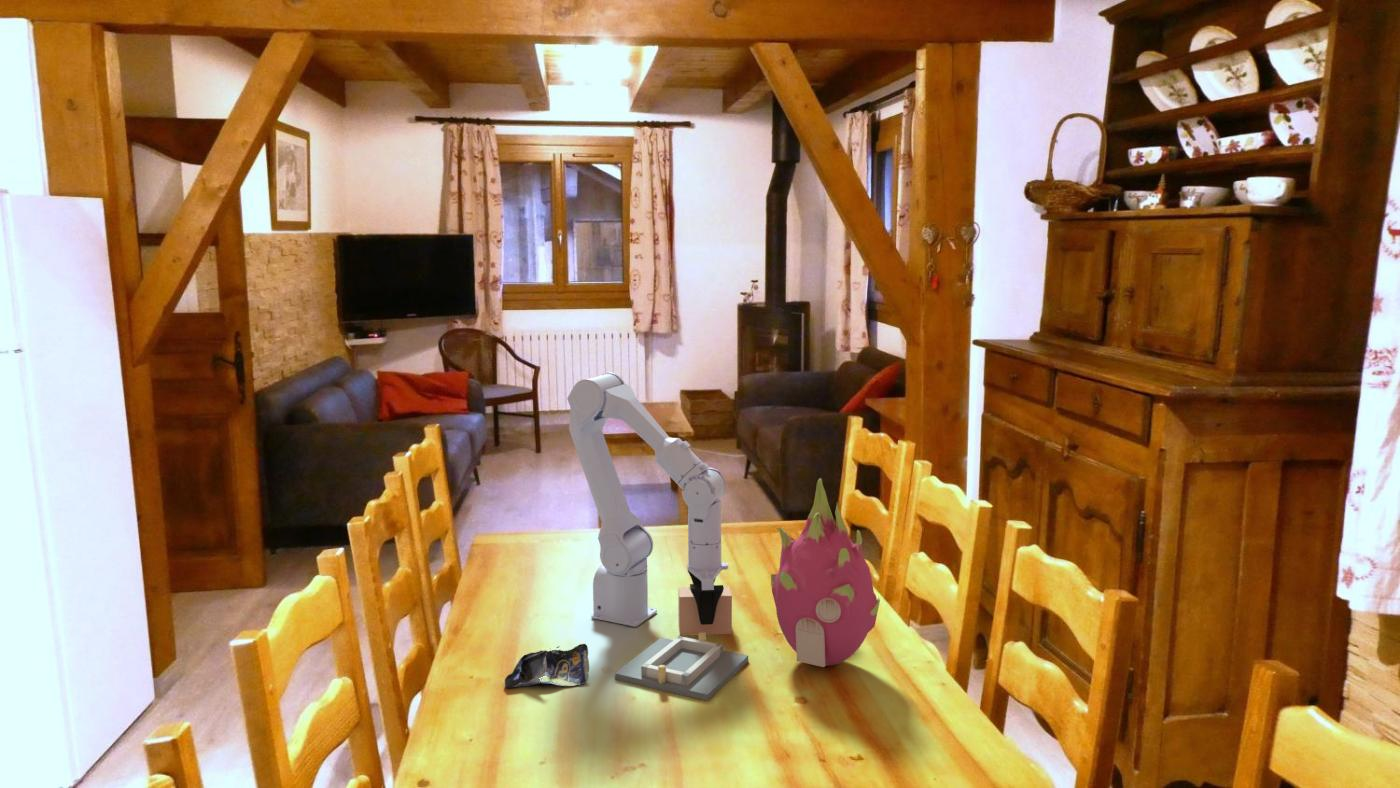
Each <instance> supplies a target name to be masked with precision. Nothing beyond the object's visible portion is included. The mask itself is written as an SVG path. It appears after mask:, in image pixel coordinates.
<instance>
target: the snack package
mask: <svg viewBox="0 0 1400 788" xmlns="http://www.w3.org/2000/svg"><path fill="white" fill-rule="evenodd" d="M558 648H560V646H559V645H558V646H556V649H553V650H552V649H551V650H548V651H547V650H539V651H535V652H529V653H527V654H524V655H523V656H522V657H520V659H519V660H518V662H517V663H516V665H515V667H514V669H513V671H512V672H511V673H510V674H508V675H506V677H505V678H504V686H505V688H506V689H512V688H516V687H517V688H518V687H527V686H528V687H529V686H534V685H539V684H546V685H555V686H563V687H568V684H561V683H557V682H553V681H552V680H545V681H542V680H541V681H542V682H541V681H540V679H539V678H541V677H543V676H547V677H551V678H550V679H556V678H557V680H560V681H561V680H562V681H564V682H565V681H566V682H568V683H571V684H576V685H577V686H580V685H585V684H586V683H587V681H588V680H589V674H590V663H589V662H590V661H589V647H588V645H587V644H586V643H580V644H578V645H576V646H575V647H573V648H571V649H568V650H561V649H558ZM553 677H554V678H553ZM541 679H542V678H541Z"/></svg>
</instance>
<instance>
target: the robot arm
mask: <svg viewBox="0 0 1400 788" xmlns="http://www.w3.org/2000/svg"><path fill="white" fill-rule="evenodd" d="M566 398H567V402H568V404H569V407H570V409H569V410H570V411H569V423H568V425H569V426H568V429H569V434H570V436H571V439H572V442H573V444H574V449H575V450H576V454H577V456H578V459H579V461H580V462H579V463H580V465H581V467H582V470H583V472H584V473H583V474H584V475H585V478H586V481H587V485H588V487H589V490H590V493H591V496H592V499H593V501H594V505H595V507H596V509H597V512H598V516H599V518H600V521H601V526H600V529H599V532H598V535H597V539H598V542H599V547H600V550H599V551H600V552H599V558H600V562H601V566H599V567H598V568H597V570H596V571H595V573H594V577H593V582H592V600H593V605H592V606H593V607H592V608H593V614H591V616H590V617H591V618H592V619H595V620H601V621H604V622H610V623H615V624H619V625H624V626H630V627H638V626H639V625H641V624H643V623H644V622H645V621H646V620H648V619H650V617H652V616H654V615H655V614H656V613H657V612H658V609H657V608H652V607H649V605H648V604H649V602H648V601H649V599H648V597H649V595H648V593H649V591H648V589H649V588H648V586H649V585H648V557H650V556H651V555H652V552H653V549H654V541H653V538H652V535H651V534H650V533H649V531H648V530H647V529H646V528H645V527H644V525H643V523H642V520H641V518H640V517H638V516H637V515H636V514H634V513H633V512H632V511H631V509H630V507H629V503H628V501H627V498H626V495H625V492H624V490H623V487H622V484H621V480H620V477H619V475H618V472H617V469H616V466H615V465H614V464H615V463H614V461H613V459H612V456H611V453H610V450H609V446H608V444H607V441H606V439H605V436H604V433H603V429H604V426H605V424H606V423H607V421H608V419H616V420H622V421H623V422H624V423H625V424H626V425H627V426H628V427H630V429H632V430H633V431H634V432H635V433H636V434H637V435H638V436H639V437H640V438H641V439H642V440H643V441H644V442H645V443H646V444H647V445H648V446H649V447H650V448H652V450H654V459H655V462H656V464H658V465H659V467H661V469H662V470H664V472H665V473H666V474H667V475H668V476H669V477H670V478H671V479H672V480H673V482H675V484H676V485H678V487H679V488H680V489H681V496H682V499H683V501H684V503H685V504H686V506H687V513H688V514H687V533H688V534H687V538H688V541H687V543H688V544H687V545H688V547H687V548H688V549H687V550H688V552H687V553H688V555H687V556H688V557H687V559H688V562H687V567H686V568H687V573H688V574H689V577H690V579H691V580H692V583H689V587H690V590H691V592H692V594H693V596H694V598H695V600H696V604H697V608H698V614H699V620H700V623H701V625H708V624H713V622H714V618H715V612H716V607H717V603H718V601H719V598H720V596H721V594H722V593H723V590H724V584H717V585H715V581H716V579H717V577H718V576H719V575H720V573H721V572H722V571H723V570H725V571H726V570H729V563H728V562H727V561H722V497H723V496H724V495H725V493H726V490H727V481H726V480H725V477H724V476H723V475H722V473H721V471H720V470H719V469H716V468H715V467H709V465H708V464H707V463H706V462H703V461H702V460H701V459H700V458H699V457H698V456H697V455H696V453H694V452H693V450H692V449H690V447H691V444H690V443H689V442H688V441H687V440H684V441H683V440H682V439H681V438H680V437H671V436H669V435H668V434H667V433H666V432H665V430H664V429H663V428H662V427H661V425H660V424H659V423H658V422H657V420H656V419H655V418H654V417H653V415H652V414H651V413H650V412H649V411H648V410H647V409H646V407H645V406H644V405H643V404H642V403H641V402H640V400H639V399H638V398H637V396H636V395H635V393H634V391H633V388H632V387H631V386H630V385H629V384H627V383H625V380H624V379H623V378H622V377H621V376H620V375H618V374H617V373H614V372H605V373H602V374H601V375H598V376H595V377H594V376H593V377H591V378H584V379H581V380H578V381H577V382H576V383H575V384H574V385H573V387H572V389H571V390H570V393H569V395H568V396H567V397H566Z"/></svg>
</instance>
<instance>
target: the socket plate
mask: <svg viewBox="0 0 1400 788" xmlns="http://www.w3.org/2000/svg"><path fill="white" fill-rule="evenodd" d="M723 648H724V646H723V644H719V643H715V642H711V641H710V642H709V641H707V635H706V633H705V632H699V635H698V639H695V638H690V637H685V636H682V635H678V636H677V637H675V639H669V638H667V637H660V638H659V639H657V640H656V641H655V642H653V643H652V644H651V645H650V646H648V647H647V648H646V649H644V650H643V651H641V653H640V654H638V655H636V657H634V658H633V659H631V661H629V662H628V663H626V664H624V666H622V667H621V668H620V669H619V670H617V671H616V672H615V673H614V680H617V681H621V682H625V683H630V684H632V685H633V684H634V685H637V686H642V687H646V688H649V689H650V688H651V689H655V690H658V691H659V690H660V691H664V692H667V693H672V694H676V695H680V696H685V697H690V698H694V699H697V700H702V701H706V702H708V701H709V700H710V699H711V698H712V697H714V696H715V695H716V693H717V692H719V691H720V690H721V689H722V688H723V686H724V685H726V684H727V683H728V682H729V681H730V680H731V679H732V678H733V677H734V676H735V675H736V674H737V673H738V672H739V671H740V670H741V669H742V668H743V667H744V666H745V665H746V664H747V663H748V662H749V655H748V654H742V653H737V652H732V651H730V650H724V649H723Z"/></svg>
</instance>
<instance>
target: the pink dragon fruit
mask: <svg viewBox="0 0 1400 788" xmlns="http://www.w3.org/2000/svg"><path fill="white" fill-rule="evenodd" d="M815 487H816V489H815V494H814V500H813V505H812V508H811V509H810V513H809V514H808V516H807V519H806V522H805V526H804V527H803V529H802V532H801V533H800V535H799V537H798V538H797V539H794V538H793V537H792V536H791V535H790V534H788V532H787V531H786V530H784V529H783V528H782V527H781V526H780V527H777V528H776V529H777V530H778V531H779V534H780V539H781V550H780V558H779V568H778V572H777V573H770V586H771V593H772V596H773V600H774V605H775V612H776V617H777V621H778V624H779V627H780V630H781V632H782V634H783V636H784V638H785V640H786V642H787V643H788V645H789V646H790V647H791V648H792V650H793V651H794V652H795V653H796V661H797V662H800V663H805V664H807V665H812V666H817V667H821V668H825V667H826V666H827V667H829V666H834V665H839V664H841V663H843V662H845V661H846V660H848V659H850V658H851V657H853V655H855V653H856V652H857V651H858V650H859V649H860V647H861V646H862V644H863V643H864V641H865V639H866V638H867V635H868V634H869V633H870V632H871V631H872V629H874V628H875V626H876V621H877V617H878V612H879V606H880V601H881V598H880V597H877V595H876V594H875V592H874V585H873V579H872V575H871V569H870V567H869V564H868V563H867V561H866V560H865V558H864V556H863V547H862V546H863V537H862V534H861V531H860V530H859V529H857V531H856V542H855V543H854V542H853V541H852V540H851V538H850V535H849V531H848V528H847V526H846V523H845V522H844V519H843V516H842V513H841V511H840V508H839V505H838V502H836V506H835V511H834V515H835V518H834V516H833V513H832V511H831V507H830V505H829V504H830V503H829V501H828V496H827V492H826V490H825V488H824V484H823V479H822V478H821V477H820V478H818V480H817V482H816V486H815Z"/></svg>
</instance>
